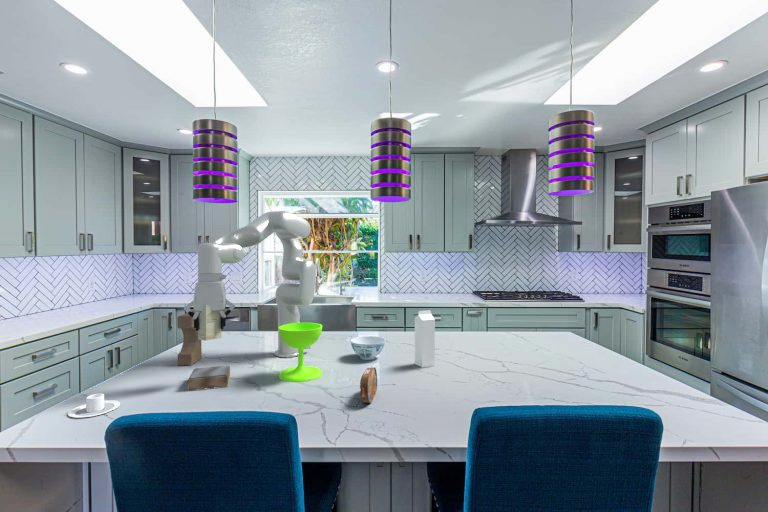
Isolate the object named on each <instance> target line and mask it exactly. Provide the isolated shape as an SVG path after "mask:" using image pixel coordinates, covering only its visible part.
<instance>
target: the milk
mask: <svg viewBox="0 0 768 512" xmlns="http://www.w3.org/2000/svg"><path fill="white" fill-rule="evenodd" d="M435 322H436V319H435V317H434V316H433V314H432V310H431V309H428V310H418V313H417V316H415V317H414V364H415V365H416V366H418V367H420V368H428V367H429V366H430V367H435V365H436V364H435V363H436V362H435V361H436V358H435V356H436V343H435V342H436V325H435V324H436V323H435Z"/></svg>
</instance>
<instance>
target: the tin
mask: <svg viewBox="0 0 768 512" xmlns="http://www.w3.org/2000/svg"><path fill="white" fill-rule="evenodd" d="M377 372H378V371H377V369H376V367H367V368H366V369H365V370H364V372H363V374H362V375H361V378H360V382H359V390H360V401H361V402H362V403H363V404H364V403H365V404H367V403H368V404H371V403H372V402H373V400H374V398H375V396H376V394H377V389H378V373H377Z"/></svg>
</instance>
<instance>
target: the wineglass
mask: <svg viewBox="0 0 768 512" xmlns="http://www.w3.org/2000/svg"><path fill="white" fill-rule="evenodd" d="M322 331H323V325H322V324H321V323H318V322H317V323H316V322H300V323H291V324H285V325H282V326H280V327H279V334H280V336H281V338H282V340H283V341H284V342H285V343H286V344H287V345H289V346H290V347H293V348H297V349H298V356H297V358H298V360H297V364H298V365H297V366H292V367H289V368H285V369H284V370H282V371H281V372H280V373H279V375H278V379H279V378H280V380H281V379H282V380H281V381H283V380H284V382H288V381H290V382H289V383H304V381H305V382H310V381H309V380H311V381H314V379H315V380H316V379H319V378H321V377H322V376H323V374H322V373H323V371H322V370H321V368H319V367H316V366H310V365H307V366H306V365H305V363H304V349H303V348H306V347H309V346H310V347H312V345H314V344H315V343H316V342H317V341H318V340H319V339H320V338H321V335H322Z"/></svg>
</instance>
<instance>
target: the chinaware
mask: <svg viewBox="0 0 768 512" xmlns="http://www.w3.org/2000/svg"><path fill="white" fill-rule="evenodd" d="M350 344H351V348H352V350H353V351H354V352H355V354H357V355H358V356H359V357H360V358H359V359H361V360H365V361H371V360H375V359H376V357H377V356H378V355H379V354H380V353H381V352H382V351H383V350H384V347H385V345H386V339H385V338H384V337H380V336H373V335H369V336H367V335H365V336H363V335H362V336H357V337H354V338H351V340H350Z"/></svg>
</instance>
